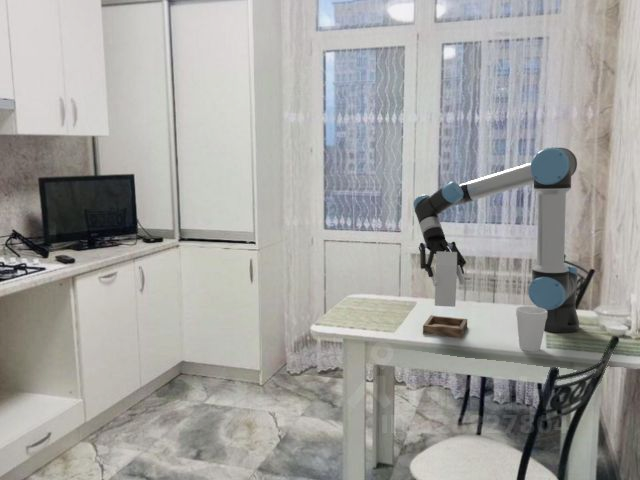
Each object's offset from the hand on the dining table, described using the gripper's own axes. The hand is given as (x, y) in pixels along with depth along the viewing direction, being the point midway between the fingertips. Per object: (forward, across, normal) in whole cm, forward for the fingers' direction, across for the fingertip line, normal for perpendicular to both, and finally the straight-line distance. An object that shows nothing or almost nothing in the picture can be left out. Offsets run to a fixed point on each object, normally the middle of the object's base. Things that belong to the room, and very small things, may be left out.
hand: (449, 283), depth 205 cm
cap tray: (+11, 0, -15) cm, 18 cm away
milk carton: (+4, 0, -8) cm, 9 cm away
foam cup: (+28, -19, +2) cm, 34 cm away
